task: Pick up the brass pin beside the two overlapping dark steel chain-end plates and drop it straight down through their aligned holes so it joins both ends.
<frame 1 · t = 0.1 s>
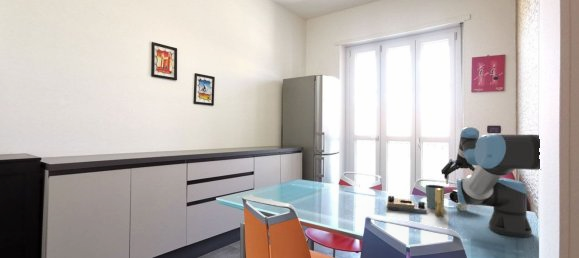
hand: (460, 182, 157), 15 cm above the table, tool tilted 35°, fingers open, 13 cm apart
drinking glass: (434, 207, 163), on the table
pneumatic valve: (461, 210, 157), on the table
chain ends: (406, 208, 160), on the table
brass pin: (439, 215, 148), on the table
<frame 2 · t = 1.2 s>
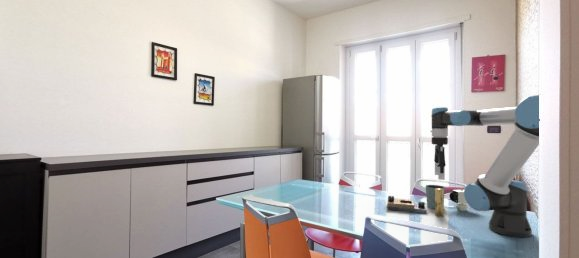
hand: (439, 177, 148), 20 cm above the table, tool pointing down, fingers open, 13 cm apart
nothing on the table moved.
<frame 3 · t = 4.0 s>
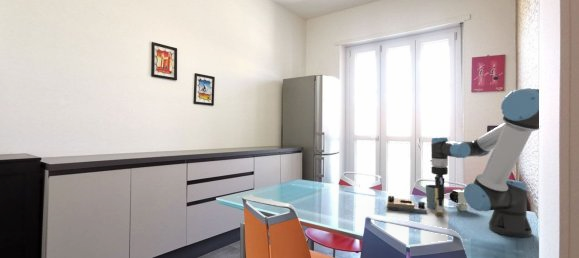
hand: (439, 210, 147), 3 cm above the table, tool pointing down, fingers closed on brass pin, 4 cm apart
brass pin: (439, 215, 148), on the table, touching gripper
everything else where it was.
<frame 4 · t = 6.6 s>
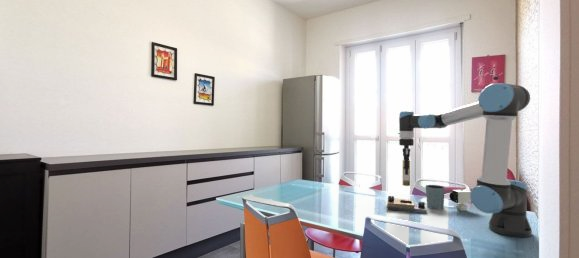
hand: (406, 179, 160), 17 cm above the table, tool pointing down, fingers closed on brass pin, 4 cm apart
brass pin: (406, 185, 160), point 14 cm above the table, touching gripper
everything else where it was.
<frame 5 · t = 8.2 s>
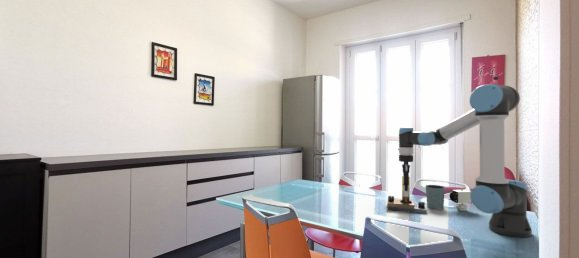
hand: (405, 195, 160), 8 cm above the table, tool pointing down, fingers closed on brass pin, 4 cm apart
brass pin: (405, 201, 160), point 4 cm above the table, touching gripper
everything else where it was.
when the fingers open (6 cm above the table, at t = 9.6 s): brass pin drops 2 cm, resting in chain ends.
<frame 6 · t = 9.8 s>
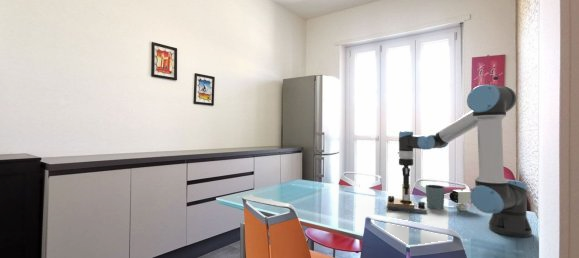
hand: (406, 198, 160), 6 cm above the table, tool pointing down, fingers open, 7 cm apart
brass pin: (406, 208, 160), resting in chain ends
everything else where it was.
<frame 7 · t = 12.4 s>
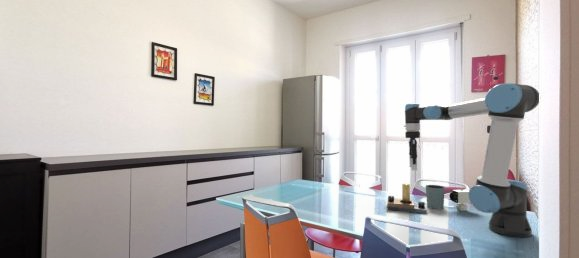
hand: (413, 168, 158), 23 cm above the table, tool pointing down, fingers open, 13 cm apart
nothing on the table moved.
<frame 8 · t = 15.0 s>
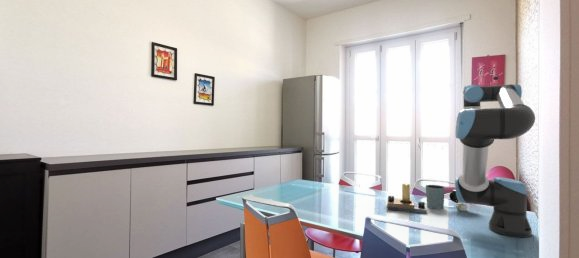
hand: (471, 155, 147), 32 cm above the table, tool pointing down, fingers open, 13 cm apart
nothing on the table moved.
at the end: brass pin 0.0 cm off-centre on the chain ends, point 0.0 cm above the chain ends's base; brass pin tilted 0°; the gripper is holding nothing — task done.
